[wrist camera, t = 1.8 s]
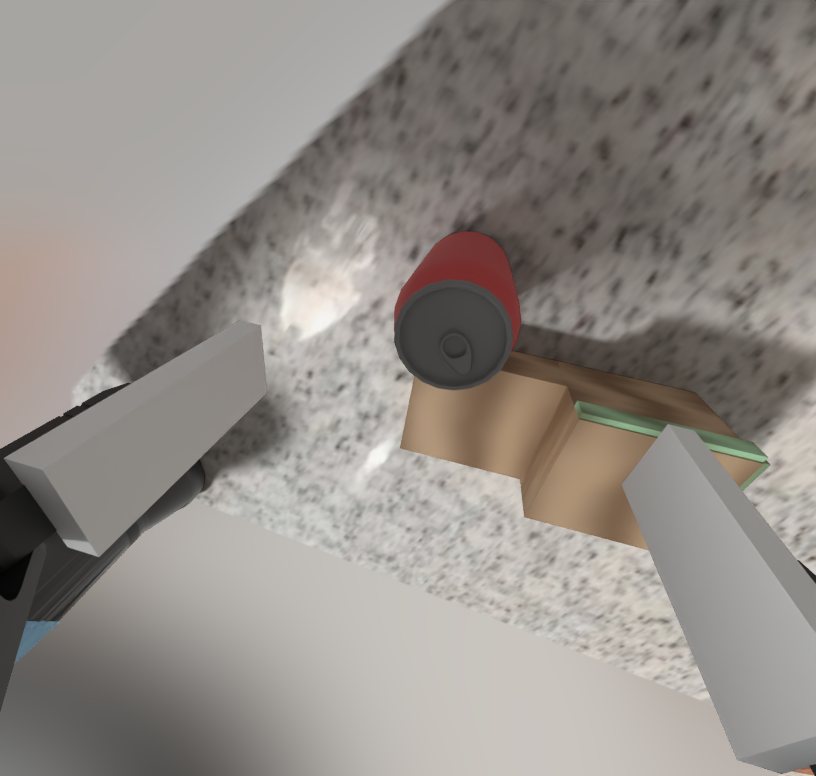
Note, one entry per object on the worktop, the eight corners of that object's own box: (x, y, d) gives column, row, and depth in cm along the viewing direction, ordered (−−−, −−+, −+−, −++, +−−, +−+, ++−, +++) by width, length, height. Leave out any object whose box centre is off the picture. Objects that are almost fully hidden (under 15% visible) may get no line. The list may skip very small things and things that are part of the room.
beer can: (440, 329, 28) (416, 413, 18) (408, 252, 26) (359, 301, 16) (520, 301, 26) (542, 379, 16) (494, 212, 23) (500, 241, 13)
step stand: (408, 421, 34) (389, 481, 28) (428, 326, 28) (410, 372, 22) (635, 478, 32) (673, 556, 26) (705, 389, 27) (777, 460, 20)
